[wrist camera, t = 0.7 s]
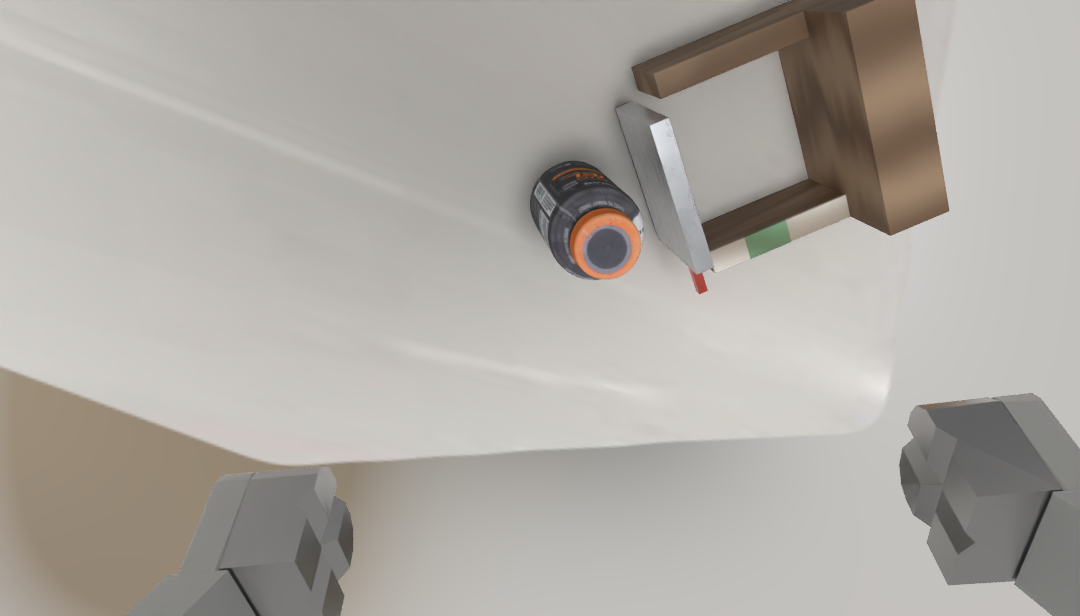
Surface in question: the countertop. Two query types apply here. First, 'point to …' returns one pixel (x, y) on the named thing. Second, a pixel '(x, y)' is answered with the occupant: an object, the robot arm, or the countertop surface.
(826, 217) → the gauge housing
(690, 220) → the brushed metal plate
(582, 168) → the pill bottle
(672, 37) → the countertop surface
